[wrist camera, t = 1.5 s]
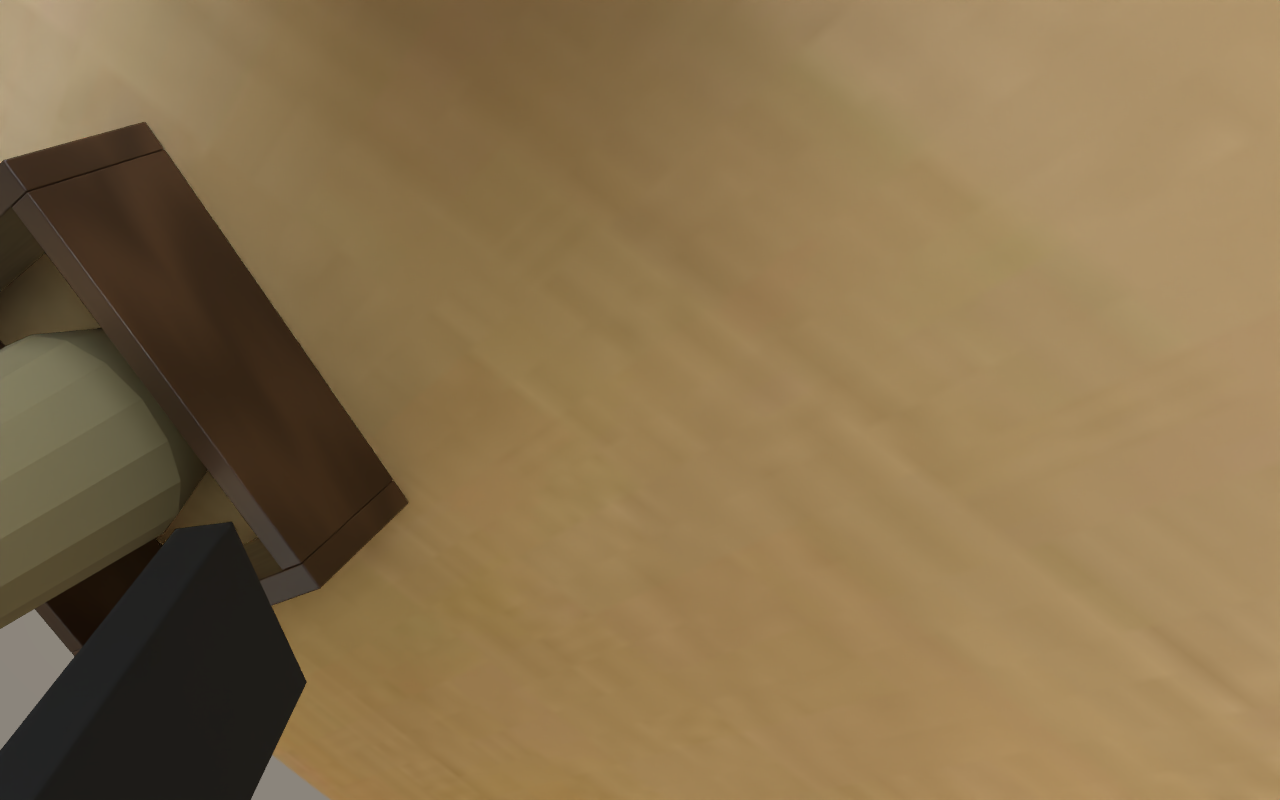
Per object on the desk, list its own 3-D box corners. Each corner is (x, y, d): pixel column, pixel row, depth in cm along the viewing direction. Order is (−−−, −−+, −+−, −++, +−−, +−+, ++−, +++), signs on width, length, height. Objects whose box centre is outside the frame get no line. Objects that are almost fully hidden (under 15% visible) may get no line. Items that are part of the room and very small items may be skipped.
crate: (-49, 299, 38) (-182, 350, 34) (145, 120, 30) (2, 159, 26) (182, 594, 42) (86, 672, 38) (409, 502, 34) (320, 589, 30)
